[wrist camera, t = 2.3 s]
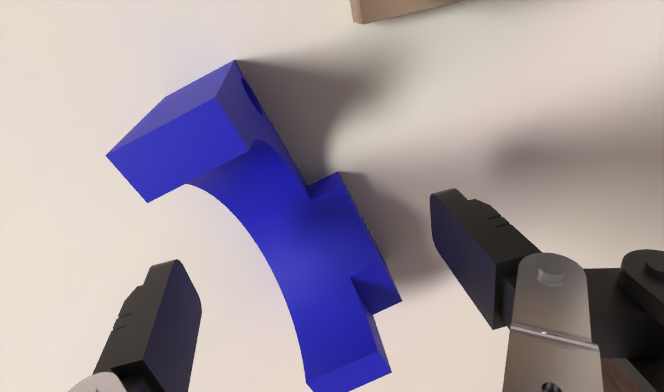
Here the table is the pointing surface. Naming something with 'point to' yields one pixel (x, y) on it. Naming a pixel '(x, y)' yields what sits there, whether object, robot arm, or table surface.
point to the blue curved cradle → (273, 219)
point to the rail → (390, 8)
